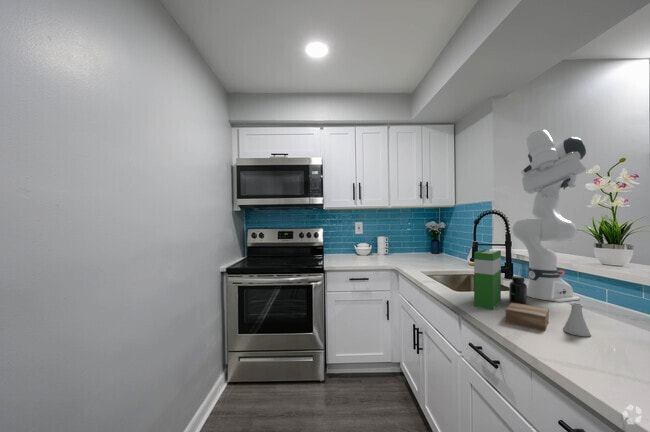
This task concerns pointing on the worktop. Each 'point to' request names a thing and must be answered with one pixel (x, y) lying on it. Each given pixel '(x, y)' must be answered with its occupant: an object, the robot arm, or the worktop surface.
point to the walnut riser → (527, 316)
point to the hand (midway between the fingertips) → (558, 192)
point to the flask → (576, 322)
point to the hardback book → (487, 279)
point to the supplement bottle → (518, 290)
